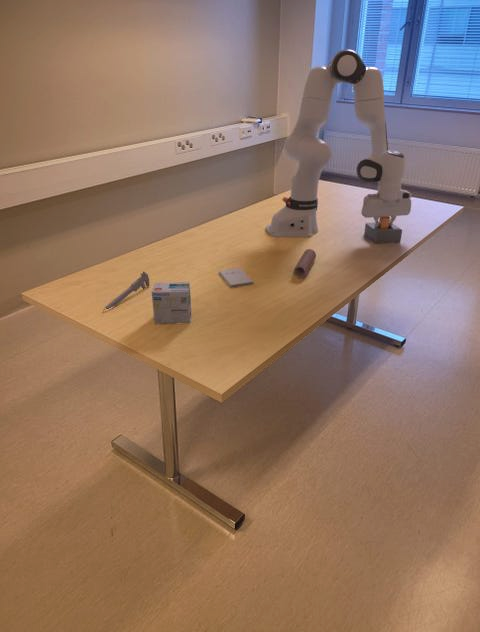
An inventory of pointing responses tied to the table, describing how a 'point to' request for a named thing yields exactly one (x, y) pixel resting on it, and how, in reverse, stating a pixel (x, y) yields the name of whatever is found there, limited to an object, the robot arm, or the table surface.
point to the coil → (304, 263)
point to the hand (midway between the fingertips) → (383, 226)
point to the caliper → (131, 289)
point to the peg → (384, 222)
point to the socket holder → (383, 233)
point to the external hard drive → (235, 277)
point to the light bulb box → (171, 302)
